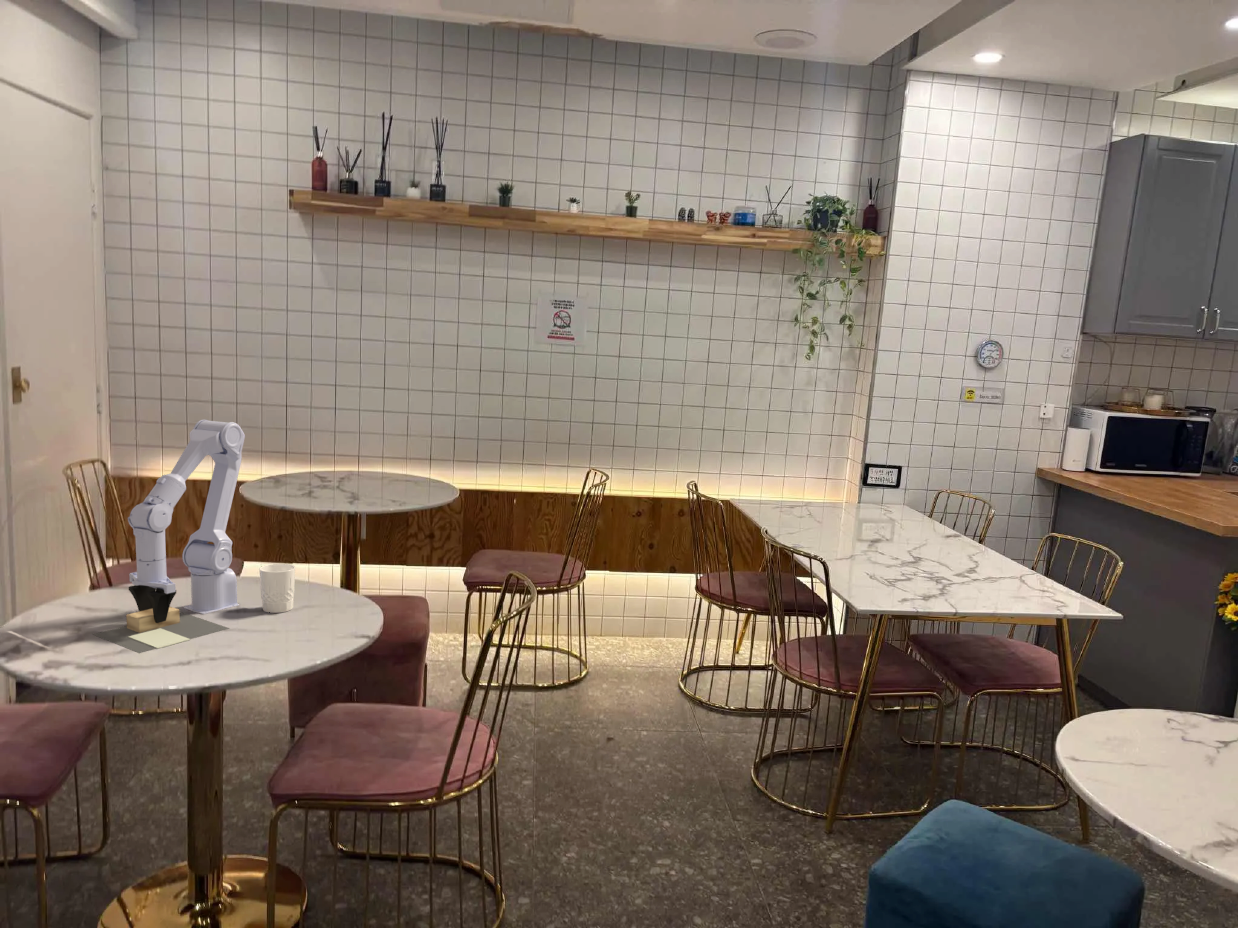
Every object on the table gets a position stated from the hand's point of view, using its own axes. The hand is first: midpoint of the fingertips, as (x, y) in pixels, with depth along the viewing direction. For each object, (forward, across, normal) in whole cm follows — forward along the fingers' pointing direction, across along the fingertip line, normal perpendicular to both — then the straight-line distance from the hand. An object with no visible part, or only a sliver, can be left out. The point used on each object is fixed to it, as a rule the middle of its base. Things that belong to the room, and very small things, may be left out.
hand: (153, 619), depth 198 cm
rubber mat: (+2, +5, -1) cm, 5 cm away
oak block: (+1, 0, 0) cm, 1 cm away
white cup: (+2, +9, +25) cm, 27 cm away
